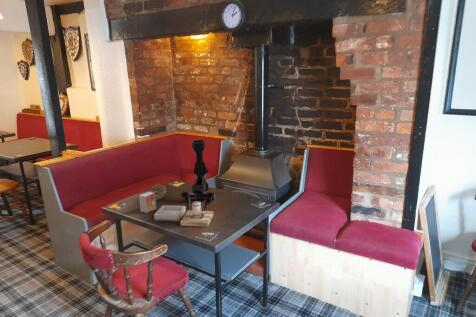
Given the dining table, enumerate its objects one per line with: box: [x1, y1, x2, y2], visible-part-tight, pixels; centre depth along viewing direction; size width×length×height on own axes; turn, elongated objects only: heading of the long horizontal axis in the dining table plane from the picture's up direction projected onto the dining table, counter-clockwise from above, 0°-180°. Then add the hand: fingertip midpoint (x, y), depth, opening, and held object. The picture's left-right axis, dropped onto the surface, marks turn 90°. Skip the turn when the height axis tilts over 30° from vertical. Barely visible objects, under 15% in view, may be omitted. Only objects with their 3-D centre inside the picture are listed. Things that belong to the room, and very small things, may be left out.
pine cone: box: [138, 184, 167, 202], centre depth 221 cm, size 22×10×10 cm, turn 151°
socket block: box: [179, 210, 214, 228], centre depth 192 cm, size 15×15×2 cm
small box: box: [138, 190, 157, 214], centre depth 207 cm, size 8×6×10 cm
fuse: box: [191, 200, 203, 219], centre depth 191 cm, size 5×5×10 cm
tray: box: [153, 204, 187, 222], centre depth 198 cm, size 14×14×4 cm
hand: (196, 210), depth 189 cm, fingers open, 9 cm apart
